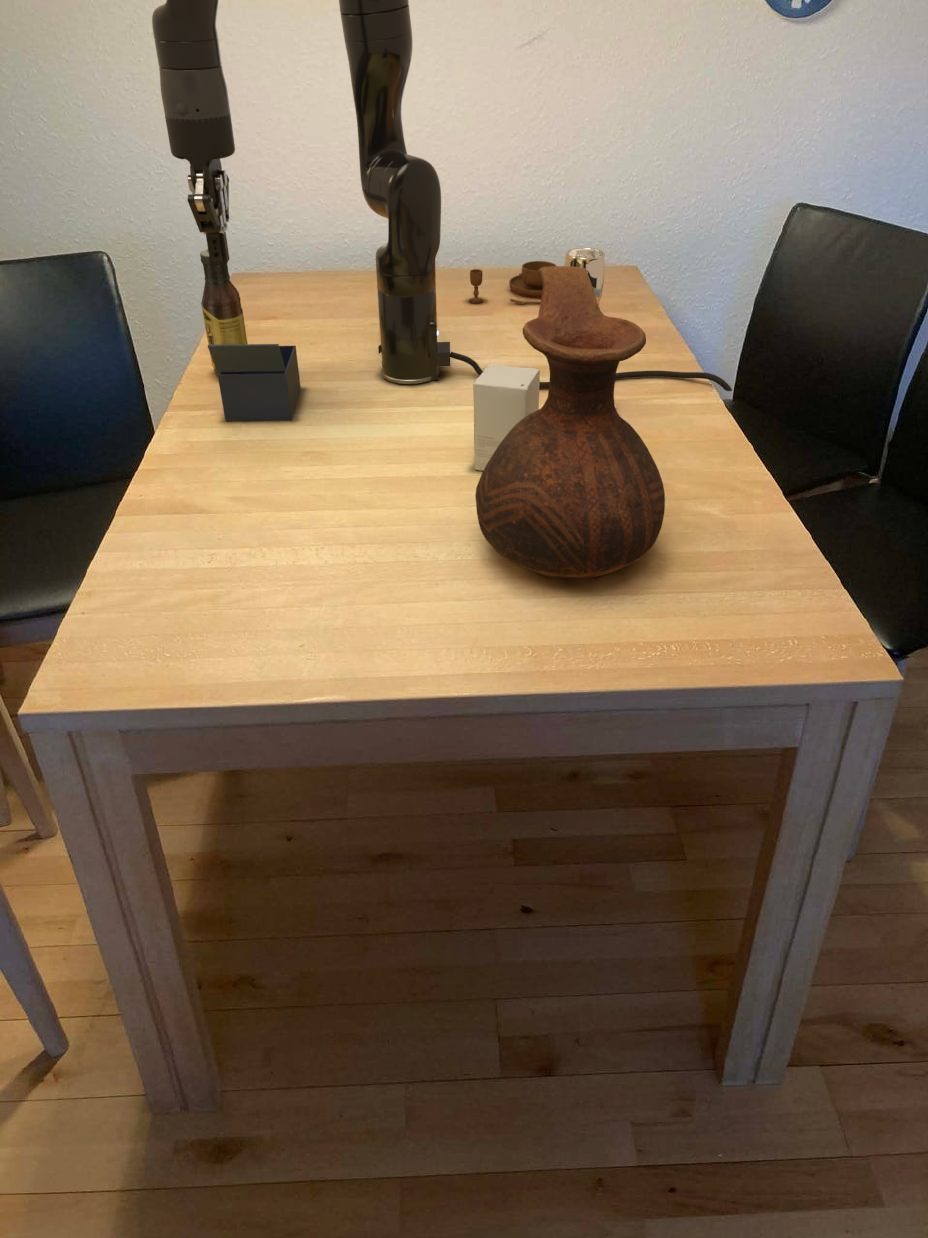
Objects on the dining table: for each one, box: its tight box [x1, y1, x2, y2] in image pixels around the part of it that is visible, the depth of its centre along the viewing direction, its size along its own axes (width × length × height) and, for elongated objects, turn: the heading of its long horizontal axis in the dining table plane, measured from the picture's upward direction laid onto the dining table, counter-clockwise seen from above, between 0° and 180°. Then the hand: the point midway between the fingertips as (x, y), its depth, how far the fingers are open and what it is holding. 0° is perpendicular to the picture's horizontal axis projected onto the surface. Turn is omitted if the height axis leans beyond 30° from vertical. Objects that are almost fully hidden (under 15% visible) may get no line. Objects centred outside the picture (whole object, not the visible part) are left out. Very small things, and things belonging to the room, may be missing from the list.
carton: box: [217, 345, 302, 422], centre depth 143 cm, size 10×12×7 cm
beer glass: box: [564, 247, 605, 307], centre depth 163 cm, size 7×7×15 cm
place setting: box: [468, 260, 557, 305], centre depth 188 cm, size 18×20×6 cm
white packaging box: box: [472, 363, 541, 472], centre depth 126 cm, size 7×7×13 cm
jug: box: [475, 265, 666, 579], centre depth 102 cm, size 22×22×30 cm
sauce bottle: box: [199, 248, 249, 377], centre depth 150 cm, size 6×6×20 cm
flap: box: [207, 343, 285, 372], centre depth 133 cm, size 10×6×1 cm
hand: (220, 262), depth 120 cm, fingers closed
